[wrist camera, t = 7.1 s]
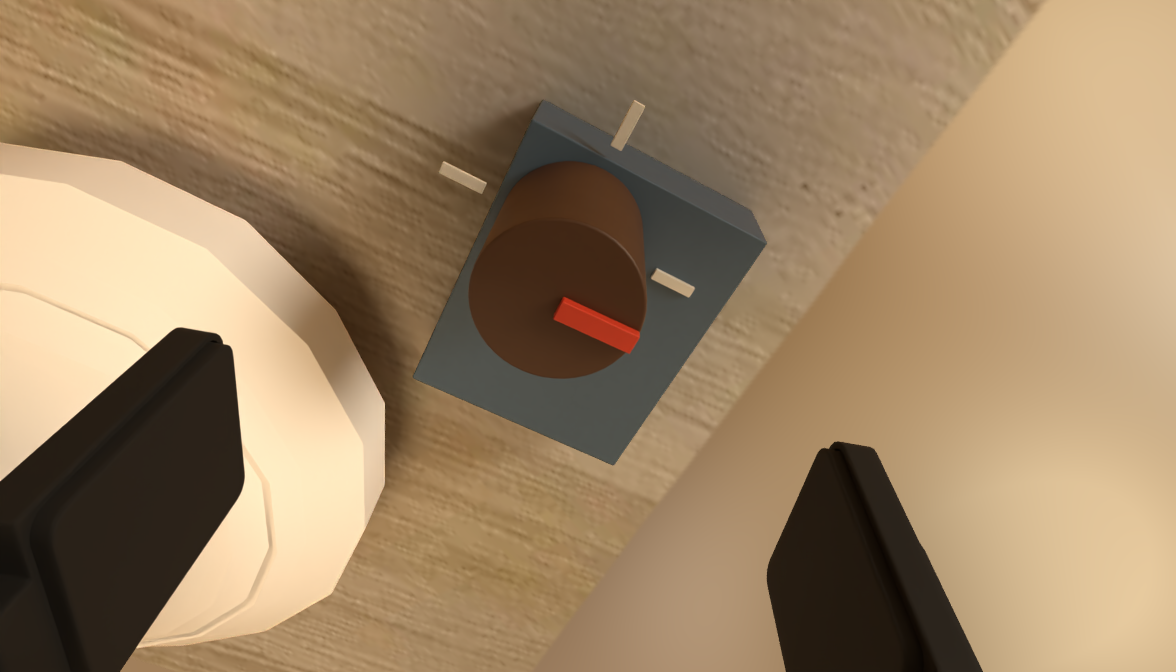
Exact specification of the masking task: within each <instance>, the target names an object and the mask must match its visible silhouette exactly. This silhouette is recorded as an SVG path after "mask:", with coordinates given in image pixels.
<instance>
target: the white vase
mask: <svg viewBox="0 0 1176 672" xmlns="http://www.w3.org/2000/svg"><path fill="white" fill-rule="evenodd" d="M178 327H183V328H188V329H194V330H200V331H206V332H211V333H216V334H218V335H220V337H221V338H222V340H223V344H226V345H229V346H231V348H232V350H233V356H234V366H235V376H236V387H237V397H238V408H239V418H240V429H241V439H242V449H243V460H244V470H245V480H244V485H243V489H242V492H241V494H240V496H239V498H238V500H237V501H236V503H235V504H234V505H233V507H232V508H231V510H230V511H229V513H228V514H227V516H226V517H225V519H224V520H223V522H222V523H221V524H220V526H219V527H218V529H217V530H216V532H215V533H214V535H213V536H212V538H211V539H210V541H209V542H208V543H207V545H206V546H205V548H204V549H203V551H202V552H201V554H200V555H199V557H198V558H197V560H196V561H195V562H194V564H193V565H192V567H191V568H190V570H189V571H188V573H187V574H186V576H185V577H184V579H183V580H182V581H181V583H180V584H179V586H178V587H177V589H176V590H175V592H174V593H173V595H172V596H171V598H170V599H169V600H168V602H167V603H166V605H165V606H164V608H163V609H162V611H161V612H160V614H159V615H158V617H157V618H156V619H155V621H154V622H153V624H152V625H151V627H150V628H149V630H148V631H147V633H146V634H145V636H144V637H143V638H142V640H141V641H140V643H139V644H138V646H137V647H136V648H142V647H149V646H185V645H190V644H196V643H202V642H207V641H213V640H219V639H224V638H230V637H235V636H241V635H247V634H252V633H258V632H264V631H267V630H268V629H270V628H272V627H274V626H276V625H277V624H279V623H281V622H283V621H284V620H286V619H288V618H290V617H291V616H293V615H295V614H297V613H298V612H300V611H302V610H304V609H305V608H307V607H309V606H311V605H313V604H314V603H316V602H318V601H320V600H321V599H323V598H325V597H327V596H328V595H330V594H332V592H333V590H334V588H335V586H336V584H337V582H338V580H339V578H340V576H341V574H342V572H343V570H344V568H345V567H346V565H347V563H348V561H349V559H350V557H351V555H352V553H353V551H354V549H355V547H356V545H357V543H358V541H359V539H360V538H361V536H362V534H363V532H364V530H365V528H366V525H367V523H368V521H369V519H370V517H371V514H372V512H373V510H374V508H375V505H376V503H377V501H378V499H379V497H380V494H381V492H382V490H383V488H384V485H385V402H384V401H383V399H382V397H381V395H380V393H379V391H378V389H377V387H376V385H375V383H374V382H373V380H372V378H371V376H370V374H369V372H368V370H367V368H366V366H365V364H364V362H363V361H362V359H361V357H360V355H359V353H358V351H357V349H356V347H355V345H354V343H353V342H352V340H351V338H350V336H349V334H348V332H347V330H346V328H345V326H344V324H343V323H342V321H341V319H340V317H339V315H338V313H337V311H336V310H335V309H334V308H333V307H332V306H331V305H330V304H329V303H328V302H327V301H326V300H325V299H324V298H323V297H322V296H321V295H320V294H319V293H318V292H317V291H316V290H315V289H314V288H313V287H312V286H311V285H310V284H309V283H308V282H307V281H306V280H305V279H304V278H303V277H302V276H301V275H300V274H299V273H298V272H297V271H296V270H295V269H294V268H293V267H292V266H291V265H290V264H289V263H288V262H287V261H286V260H285V259H284V258H283V257H282V256H281V255H280V254H279V253H278V252H277V251H276V250H275V249H274V248H273V247H272V246H271V245H270V244H269V243H268V242H267V241H266V240H265V239H264V238H263V237H262V236H261V235H260V234H259V233H258V232H257V231H256V230H255V229H254V228H253V227H252V226H251V225H250V224H249V223H248V222H247V221H246V220H244V219H242V218H240V217H238V216H235V215H233V214H231V213H229V212H227V211H225V210H223V209H221V208H219V207H217V206H214V205H212V204H210V203H208V202H206V201H204V200H202V199H200V198H198V197H196V196H194V195H191V194H189V193H187V192H185V191H183V190H181V189H179V188H177V187H175V186H173V185H171V184H168V183H166V182H164V181H162V180H160V179H158V178H156V177H154V176H152V175H150V174H147V173H145V172H143V171H141V170H139V169H137V168H135V167H133V166H131V165H129V164H127V163H124V162H122V161H118V160H111V159H105V158H98V157H92V156H85V155H79V154H72V153H65V152H59V151H52V150H46V149H39V148H33V147H26V146H20V145H13V144H6V143H0V481H1V480H2V479H3V478H4V477H5V476H7V475H8V474H9V473H10V472H11V471H12V470H13V469H15V468H16V467H17V466H18V465H19V464H20V463H21V462H23V461H24V460H25V459H26V458H27V457H28V456H29V455H31V454H32V453H33V452H34V451H35V450H36V449H37V448H38V447H40V446H41V445H42V444H43V443H44V442H45V441H46V440H48V439H49V438H50V437H51V436H52V435H53V434H54V433H56V432H57V431H58V430H59V429H60V428H61V427H62V426H64V425H65V424H66V423H67V422H68V421H69V420H70V419H71V418H73V417H74V416H75V415H76V414H77V413H78V412H79V411H81V410H82V409H83V408H84V407H85V406H86V405H87V404H89V403H90V402H91V401H92V400H93V399H94V398H95V397H97V396H98V395H99V394H100V393H101V392H102V391H103V390H105V389H106V388H107V387H108V386H109V385H110V384H111V383H112V382H114V381H115V380H116V379H117V378H118V377H119V376H120V375H122V374H123V373H124V372H125V371H126V370H127V369H128V368H130V367H131V366H132V365H133V364H134V363H135V362H136V361H138V360H139V359H140V358H141V357H142V356H143V355H144V354H145V353H147V352H148V351H149V350H150V349H151V348H152V347H153V346H155V345H156V344H157V343H158V342H159V341H160V340H161V339H163V338H164V337H165V336H166V335H167V334H168V333H169V332H171V331H172V330H173V329H175V328H178Z"/></svg>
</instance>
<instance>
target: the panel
mask: <svg viewBox="0 0 1176 672" xmlns="http://www.w3.org/2000/svg"><path fill="white" fill-rule="evenodd" d="M644 108H645V106H644V105H643V104H641V103H639V102H637V101H635V100H634V101H633V102H632V104H631V106H630V108H629V110H628V112H627V114H626V116H625V118H624V120H623V121H622V123H621V125H620V127H619V129H618V131H617V133H616V135H615V137H613V136H611V135H609V134H607V133H605V132H603V131H601V130H600V129H598V128H596V127H594V126H592V125H590V124H588V123H586V122H585V121H583V120H581V119H579V118H577V117H575V116H573V115H571V114H570V113H568V112H566V111H564V110H562V109H560V108H558V107H557V106H555V105H553V104H551V103H549V102H547V101H545V100H542V101H541V103H540V105H539V107H538V109H537V110H536V112H535V114H534V116H533V118H532V119H531V121H530V124H529V126H528V128H527V130H526V132H525V134H524V137H523V139H522V141H521V143H520V145H519V147H518V150H517V152H516V154H515V156H514V158H513V160H512V163H511V165H510V167H509V169H508V171H507V173H506V176H505V178H504V180H503V182H502V184H501V186H500V189H499V191H498V193H497V195H496V197H495V199H494V202H493V204H492V206H491V208H490V210H489V212H488V215H487V217H486V219H485V221H484V223H483V225H482V228H481V230H480V232H479V234H478V236H477V238H476V241H475V243H474V245H473V247H472V249H471V251H470V254H469V256H468V258H467V260H466V262H465V264H464V267H463V269H462V271H461V273H460V275H459V277H458V280H457V282H456V284H455V286H454V288H453V290H452V293H451V295H450V297H449V299H448V301H447V303H446V306H445V308H444V310H443V312H442V314H441V316H440V319H439V321H438V323H437V325H436V327H435V329H434V332H433V334H432V336H431V338H430V340H429V342H428V345H427V347H426V349H425V351H424V353H423V355H422V358H421V360H420V362H419V364H418V366H417V368H416V371H415V373H414V375H413V378H414V379H416V380H418V381H421V382H423V383H425V384H428V385H430V386H432V387H434V388H437V389H439V390H441V391H444V392H446V393H448V394H451V395H453V396H455V397H457V398H460V399H462V400H464V401H467V402H469V403H471V404H473V405H476V406H478V407H480V408H483V409H485V410H487V411H489V412H492V413H494V414H496V415H499V416H501V417H503V418H505V419H508V420H510V421H512V422H515V423H517V424H519V425H522V426H524V427H526V428H528V429H531V430H533V431H535V432H538V433H540V434H542V435H544V436H547V437H549V438H551V439H554V440H556V441H558V442H560V443H563V444H565V445H567V446H570V447H572V448H574V449H576V450H579V451H581V452H583V453H586V454H588V455H590V456H593V457H595V458H597V459H599V460H602V461H604V462H606V463H609V464H611V465H614V464H615V463H616V462H617V460H618V459H619V457H620V456H621V454H622V453H623V451H624V450H625V449H626V447H627V446H628V444H629V443H630V441H631V440H632V438H633V437H634V436H635V434H636V433H637V431H638V430H639V428H640V427H641V425H642V424H643V422H644V421H645V420H646V418H647V417H648V415H649V414H650V412H651V411H652V409H653V408H654V407H655V405H656V404H657V402H658V401H659V399H660V398H661V396H662V395H663V394H664V392H665V391H666V389H667V388H668V386H669V385H670V383H671V382H672V381H673V379H674V378H675V376H676V375H677V373H678V372H679V370H680V369H681V367H682V366H683V365H684V363H685V362H686V360H687V359H688V357H689V356H690V354H691V353H692V352H693V350H694V349H695V347H696V346H697V344H698V343H699V341H700V340H701V339H702V337H703V336H704V334H705V333H706V331H707V330H708V328H709V327H710V325H711V324H712V323H713V321H714V320H715V318H716V317H717V315H718V314H719V312H720V311H721V310H722V308H723V307H724V305H725V304H726V302H727V301H728V299H729V298H730V297H731V295H732V294H733V292H734V291H735V289H736V288H737V286H738V285H739V284H740V282H741V281H742V279H743V278H744V276H745V275H746V273H747V272H748V270H749V269H750V268H751V266H752V265H753V263H754V262H755V260H756V259H757V257H758V256H759V255H760V253H761V252H762V250H763V249H764V247H765V246H766V244H767V242H766V240H765V237H764V235H763V233H762V231H761V229H760V227H759V225H758V223H757V221H756V219H755V217H754V214H753V212H752V211H751V210H749V209H747V208H745V207H743V206H742V205H740V204H738V203H736V202H734V201H732V200H730V199H728V198H727V197H725V196H723V195H721V194H719V193H717V192H715V191H714V190H712V189H710V188H708V187H706V186H704V185H702V184H700V183H699V182H697V181H695V180H693V179H691V178H689V177H687V176H686V175H684V174H682V173H680V172H678V171H676V170H674V169H672V168H671V167H669V166H667V165H665V164H663V163H661V162H659V161H657V160H656V159H654V158H652V157H650V156H648V155H646V154H644V153H643V152H641V151H639V150H637V149H635V148H633V147H631V146H629V145H628V144H626V142H627V140H628V138H629V136H630V134H631V132H632V131H633V129H634V127H635V125H636V123H637V121H638V119H639V118H640V116H641V114H642V112H643V110H644ZM562 161H577V162H584V163H588V164H591V165H595V166H597V167H599V168H602V169H604V170H606V171H607V172H609V173H611V174H612V175H614V176H615V177H616V178H617V179H619V180H620V181H621V182H622V183H623V184H624V185H625V186H626V187H627V189H628V190H629V191H630V193H631V194H632V196H633V197H634V199H635V201H636V203H637V205H638V208H639V210H640V214H641V218H642V224H643V238H644V255H645V271H646V288H647V311H646V316H645V321H644V323H643V326H642V329H641V331H640V338H639V340H638V341H637V343H636V345H635V346H634V348H633V349H632V351H631V353H630V354H628V353H625V354H624V355H623V356H622V357H620V358H619V359H618V360H617V361H616V362H614V363H613V364H611V365H609V366H608V367H606V368H604V369H602V370H600V371H598V372H596V373H593V374H589V375H586V376H582V377H577V378H568V379H554V378H546V377H540V376H537V375H533V374H530V373H527V372H524V371H522V370H520V369H518V368H516V367H514V366H512V365H510V364H509V363H507V362H506V361H504V360H503V359H501V358H500V357H499V356H498V355H497V354H495V353H494V352H493V351H492V349H491V348H490V347H489V346H488V345H487V344H486V343H485V341H484V340H483V338H482V337H481V336H480V334H479V332H478V330H477V328H476V326H475V324H474V321H473V319H472V316H471V312H470V308H469V300H468V288H469V281H470V276H471V272H472V270H473V267H474V264H475V262H476V260H477V258H478V256H479V254H480V252H481V250H482V248H483V246H484V243H485V241H486V239H487V237H488V235H489V233H490V231H491V229H492V227H493V225H494V223H495V221H496V218H497V216H498V214H499V212H500V210H501V208H502V206H503V204H504V202H505V200H506V198H507V196H508V194H509V193H510V191H511V190H512V188H513V187H514V186H515V185H516V184H517V183H518V182H519V181H520V180H521V179H522V178H523V177H524V176H526V175H527V174H528V173H530V172H531V171H533V170H535V169H537V168H539V167H541V166H544V165H547V164H551V163H555V162H562ZM438 173H440V174H442V175H444V176H446V177H448V178H450V179H452V180H454V181H456V182H458V183H460V184H462V185H464V186H466V187H468V188H470V189H472V190H474V191H476V192H478V193H480V194H482V193H483V191H484V189H485V186H486V184H487V183H486V182H484V181H482V180H480V179H478V178H476V177H474V176H472V175H470V174H468V173H466V172H464V171H462V170H460V169H458V168H456V167H454V166H452V165H450V164H448V163H446V162H445V161H443V163H442V165H441V167H440V170H439V172H438Z"/></svg>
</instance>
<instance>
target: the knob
mask: <svg viewBox="0 0 1176 672" xmlns="http://www.w3.org/2000/svg"><path fill="white" fill-rule="evenodd" d="M468 300H469V308H470V312H471V316H472V319H473V321H474V324H475V326H476V328H477V330H478V332H479V334H480V336H481V337H482V338H483V340H484V341H485V343H486V344H487V345H488V346H489V347H490V348H491V349H492V351H493V352H494V353H495V354H497V355H498V356H499V357H500V358H501V359H503V360H504V361H506V362H507V363H509V364H510V365H512V366H514V367H516V368H518V369H520V370H522V371H524V372H527V373H530V374H533V375H537V376H540V377H546V378H554V379H568V378H577V377H582V376H586V375H589V374H593V373H596V372H598V371H600V370H602V369H604V368H606V367H608V366H609V365H611V364H613V363H614V362H616V361H617V360H618V359H619V358H620V357H622V356H623V355H624V354H625V353H628V354H630V353H631V351H632V349H633V348H634V346H635V345H636V343H637V341H638V340H639V338H640V331H641V329H642V326H643V323H644V321H645V316H646V311H647V288H646V271H645V255H644V238H643V224H642V218H641V214H640V210H639V208H638V205H637V203H636V201H635V199H634V197H633V196H632V194H631V193H630V191H629V190H628V189H627V187H626V186H625V185H624V184H623V183H622V182H621V181H620V180H619V179H617V178H616V177H615V176H614V175H612V174H611V173H609V172H607V171H606V170H604V169H602V168H599V167H597V166H595V165H591V164H588V163H584V162H577V161H562V162H555V163H551V164H547V165H544V166H541V167H539V168H537V169H535V170H533V171H531V172H530V173H528V174H527V175H526V176H524V177H523V178H522V179H521V180H520V181H519V182H518V183H517V184H516V185H515V186H514V187H513V188H512V190H511V191H510V193H509V194H508V196H507V198H506V200H505V202H504V204H503V206H502V208H501V210H500V212H499V214H498V216H497V218H496V221H495V223H494V225H493V227H492V229H491V231H490V233H489V235H488V237H487V239H486V241H485V243H484V246H483V248H482V250H481V252H480V254H479V256H478V258H477V260H476V262H475V264H474V267H473V270H472V272H471V276H470V281H469V288H468Z"/></svg>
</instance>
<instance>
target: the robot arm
mask: <svg viewBox="0 0 1176 672" xmlns="http://www.w3.org/2000/svg"><path fill="white" fill-rule="evenodd" d="M244 480H245V470H244V460H243V449H242V439H241V429H240V418H239V408H238V397H237V387H236V376H235V366H234V356H233V350H232V348H231V346H229V345H226V344H223V340H222V338H221V337H220V335H218V334H216V333H211V332H206V331H200V330H194V329H188V328H183V327H178V328H175V329H173V330H172V331H171V332H169V333H168V334H167V335H166V336H165V337H164V338H163V339H161V340H160V341H159V342H158V343H157V344H156V345H155V346H153V347H152V348H151V349H150V350H149V351H148V352H147V353H145V354H144V355H143V356H142V357H141V358H140V359H139V360H138V361H136V362H135V363H134V364H133V365H132V366H131V367H130V368H128V369H127V370H126V371H125V372H124V373H123V374H122V375H120V376H119V377H118V378H117V379H116V380H115V381H114V382H112V383H111V384H110V385H109V386H108V387H107V388H106V389H105V390H103V391H102V392H101V393H100V394H99V395H98V396H97V397H95V398H94V399H93V400H92V401H91V402H90V403H89V404H87V405H86V406H85V407H84V408H83V409H82V410H81V411H79V412H78V413H77V414H76V415H75V416H74V417H73V418H71V419H70V420H69V421H68V422H67V423H66V424H65V425H64V426H62V427H61V428H60V429H59V430H58V431H57V432H56V433H54V434H53V435H52V436H51V437H50V438H49V439H48V440H46V441H45V442H44V443H43V444H42V445H41V446H40V447H38V448H37V449H36V450H35V451H34V452H33V453H32V454H31V455H29V456H28V457H27V458H26V459H25V460H24V461H23V462H21V463H20V464H19V465H18V466H17V467H16V468H15V469H13V470H12V471H11V472H10V473H9V474H8V475H7V476H5V477H4V478H3V479H2V480H1V481H0V672H120V670H121V669H122V668H123V666H124V665H125V663H126V662H127V660H128V659H129V657H130V656H131V655H132V653H133V652H134V650H135V649H136V647H137V646H138V644H139V643H140V641H141V640H142V638H143V637H144V636H145V634H146V633H147V631H148V630H149V628H150V627H151V625H152V624H153V622H154V621H155V619H156V618H157V617H158V615H159V614H160V612H161V611H162V609H163V608H164V606H165V605H166V603H167V602H168V600H169V599H170V598H171V596H172V595H173V593H174V592H175V590H176V589H177V587H178V586H179V584H180V583H181V581H182V580H183V579H184V577H185V576H186V574H187V573H188V571H189V570H190V568H191V567H192V565H193V564H194V562H195V561H196V560H197V558H198V557H199V555H200V554H201V552H202V551H203V549H204V548H205V546H206V545H207V543H208V542H209V541H210V539H211V538H212V536H213V535H214V533H215V532H216V530H217V529H218V527H219V526H220V524H221V523H222V522H223V520H224V519H225V517H226V516H227V514H228V513H229V511H230V510H231V508H232V507H233V505H234V504H235V503H236V501H237V500H238V498H239V496H240V494H241V492H242V489H243V485H244ZM767 585H768V590H769V595H770V599H771V604H772V609H773V614H774V618H775V623H776V628H777V632H778V637H779V642H780V646H781V651H782V656H783V660H784V665H785V669H786V672H983V671H982V669H981V667H980V665H979V662H978V661H977V658H976V656H975V654H974V652H973V650H972V648H971V646H970V644H969V642H968V640H967V638H966V635H965V633H964V631H963V629H962V627H961V625H960V623H959V621H958V619H957V617H956V615H955V613H954V611H953V608H952V606H951V604H950V602H949V600H948V598H947V596H946V594H945V592H944V590H943V588H942V585H941V583H940V581H939V579H938V577H937V575H936V573H935V571H934V569H933V567H932V565H931V563H930V560H929V558H928V556H927V554H926V552H925V550H924V549H923V547H922V546H921V544H920V543H919V541H918V539H917V537H916V534H915V532H914V530H913V528H912V526H911V524H910V522H909V520H908V518H907V516H906V513H905V511H904V509H903V507H902V505H901V503H900V501H899V499H898V497H897V495H896V493H895V491H894V488H893V486H892V484H891V482H890V480H889V478H888V476H887V474H886V472H885V470H884V468H883V465H882V463H881V461H880V459H879V457H878V455H877V453H876V452H875V450H874V449H873V448H871V447H867V446H861V445H855V444H850V443H844V442H834V443H833V444H832V445H831V446H830V448H829V449H826V448H823V449H821V450H820V451H819V452H818V454H817V456H816V458H815V460H814V462H813V465H812V467H811V469H810V471H809V473H808V476H807V478H806V480H805V482H804V485H803V487H802V489H801V492H800V494H799V496H798V498H797V501H796V503H795V505H794V507H793V509H792V512H791V514H790V516H789V518H788V521H787V523H786V525H785V528H784V530H783V532H782V534H781V536H780V539H779V541H778V543H777V545H776V548H775V550H774V552H773V554H772V557H771V559H770V561H769V564H768V569H767Z"/></svg>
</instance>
